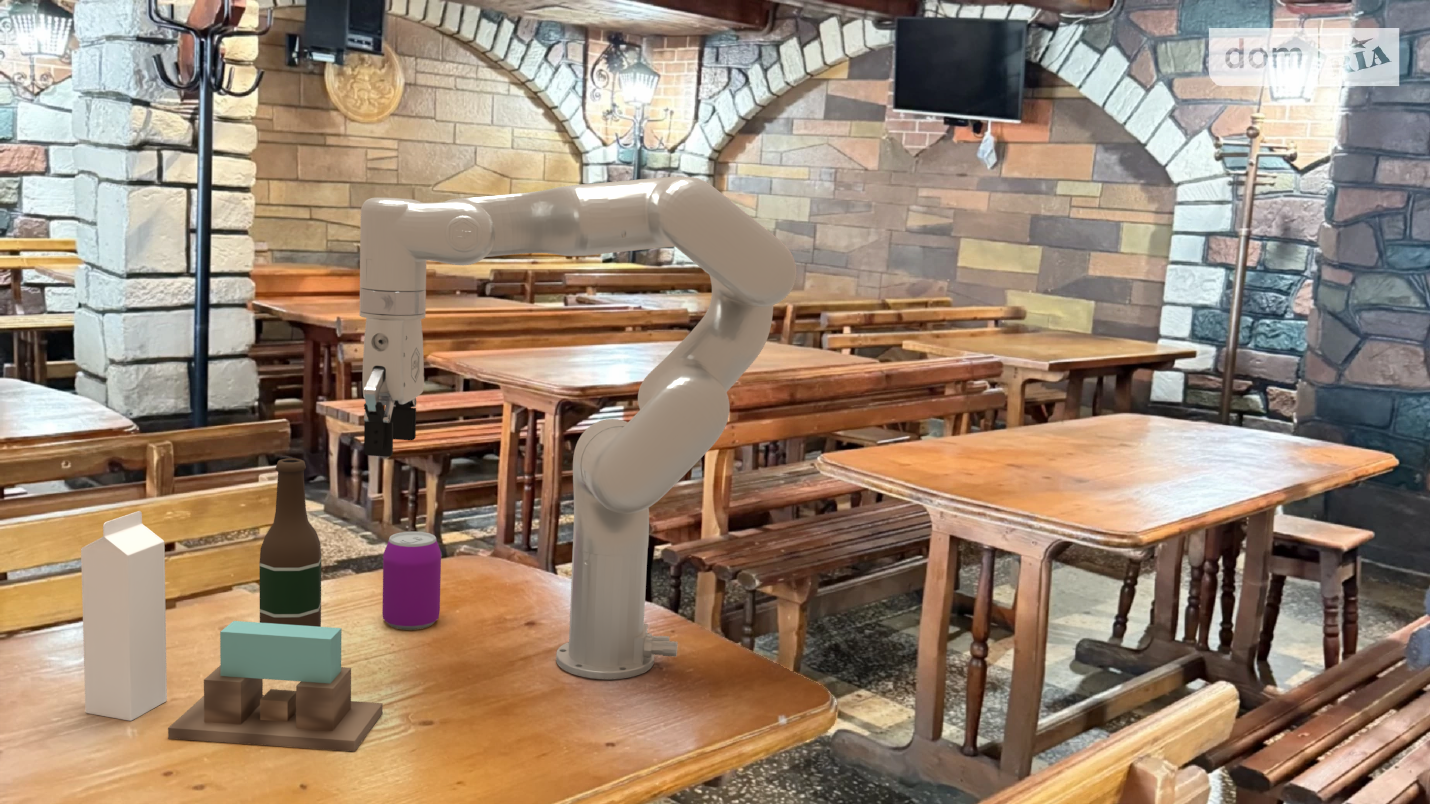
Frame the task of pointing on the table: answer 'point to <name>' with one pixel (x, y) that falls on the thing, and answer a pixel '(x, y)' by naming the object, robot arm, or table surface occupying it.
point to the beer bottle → (290, 555)
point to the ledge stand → (278, 714)
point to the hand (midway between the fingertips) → (390, 447)
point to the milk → (124, 620)
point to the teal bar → (280, 652)
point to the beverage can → (411, 580)
